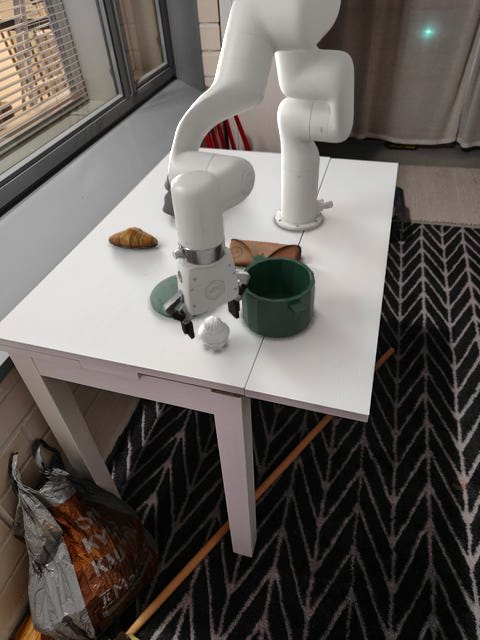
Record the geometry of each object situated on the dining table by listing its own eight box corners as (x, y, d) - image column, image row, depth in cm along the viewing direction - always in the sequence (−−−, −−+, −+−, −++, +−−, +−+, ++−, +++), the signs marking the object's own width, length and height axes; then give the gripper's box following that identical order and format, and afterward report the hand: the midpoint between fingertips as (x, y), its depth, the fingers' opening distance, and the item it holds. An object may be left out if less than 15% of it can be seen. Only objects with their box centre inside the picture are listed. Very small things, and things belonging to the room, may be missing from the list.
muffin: (224, 358, 89) (221, 332, 84) (195, 352, 90) (190, 325, 86) (235, 337, 93) (233, 311, 88) (207, 331, 95) (203, 305, 90)
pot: (287, 279, 106) (288, 244, 100) (332, 333, 92) (336, 296, 86) (228, 296, 103) (225, 261, 96) (265, 356, 89) (264, 319, 82)
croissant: (162, 239, 122) (159, 223, 119) (154, 254, 117) (150, 237, 114) (115, 236, 125) (111, 220, 121) (105, 250, 120) (100, 233, 116)
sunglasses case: (222, 266, 111) (224, 238, 109) (229, 264, 117) (231, 237, 116) (296, 274, 107) (299, 244, 105) (300, 271, 113) (302, 244, 112)
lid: (207, 270, 111) (204, 248, 107) (230, 308, 100) (228, 285, 96) (144, 287, 107) (138, 265, 103) (161, 329, 96) (155, 306, 92)
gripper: (165, 276, 71) (180, 354, 82) (258, 240, 77) (261, 317, 88) (145, 254, 76) (162, 331, 87) (235, 222, 82) (240, 298, 93)
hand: (212, 324), depth 88 cm, fingers open, 9 cm apart
